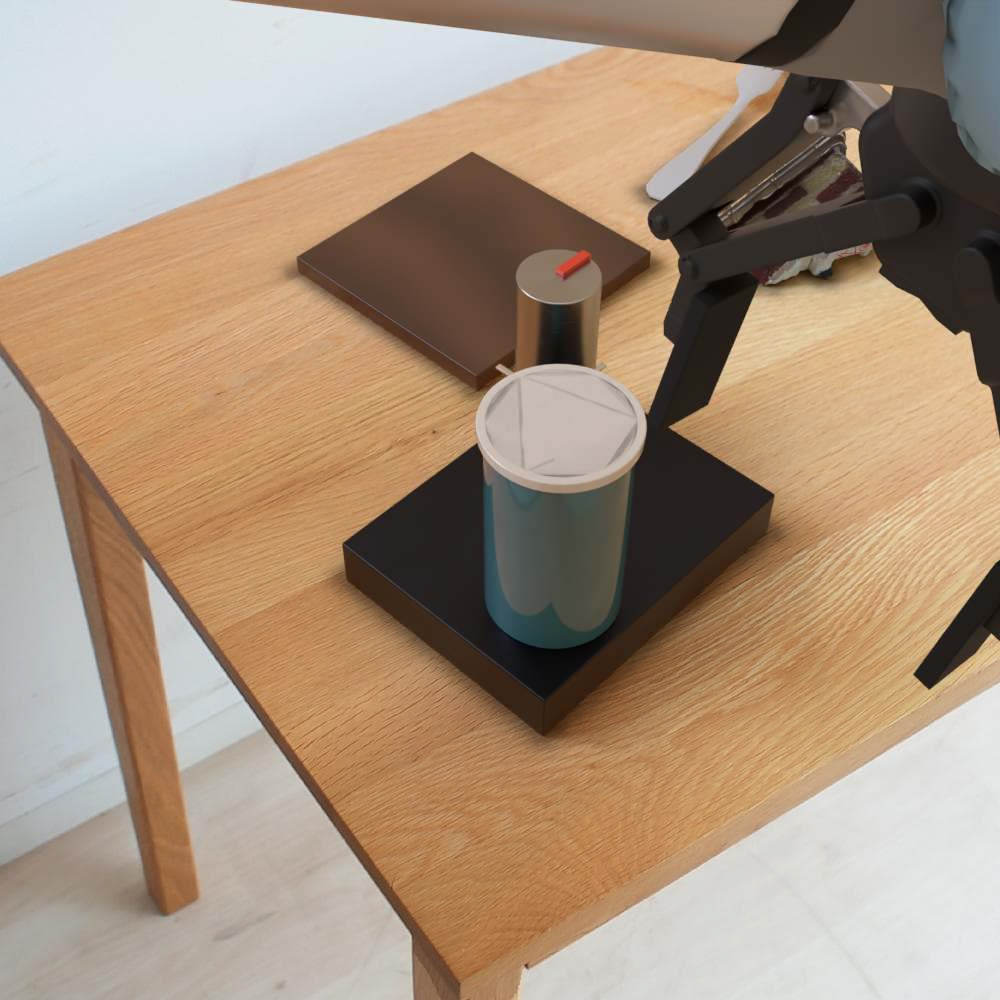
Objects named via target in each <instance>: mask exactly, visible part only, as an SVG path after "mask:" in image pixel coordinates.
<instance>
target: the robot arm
mask: <svg viewBox="0 0 1000 1000" xmlns="http://www.w3.org/2000/svg"><path fill="white" fill-rule="evenodd" d="M230 1H231V2H238V3H239V2H240V3H248V4H257V5H266V6H272V7H281V8H290V9H298V10H306V11H314V12H324V13H329V14H330V13H331V14H339V15H346V16H347V15H349V16H356V17H363V18H373V19H381V20H390V21H398V22H405V23H414V24H422V25H429V26H438V27H447V28H454V29H462V30H463V29H464V30H471V31H480V32H489V33H496V34H497V33H498V34H505V35H513V36H520V37H521V36H523V37H531V38H537V39H546V40H555V41H562V42H571V43H578V44H579V43H580V44H588V45H595V46H605V47H610V48H611V47H612V48H613V47H614V48H621V49H629V50H637V51H644V52H645V51H647V52H654V53H662V54H671V55H678V56H687V57H694V58H702V59H703V58H704V59H711V60H716V61H719V62H724V63H732V64H741V65H746V64H747V65H755V66H762V67H766V68H767V67H768V68H772V69H775V70H776V69H777V70H781V71H785V72H786V73H789V74H788V76H787V78H786V80H785V81H784V83H783V85H782V88H781V89H780V91H779V93H778V95H777V97H776V99H775V101H774V103H773V104H772V107H771V109H770V111H768V112H767V113H766V114H764V116H763V117H761V118H760V119H759V120H757V122H755V123H754V124H753V125H751V127H749V128H748V129H747V130H746V131H744V132H743V133H742V134H740V135H739V136H738V137H737V138H736V139H735V140H733V141H732V142H731V143H729V145H727V146H726V147H725V148H724V149H722V150H721V151H720V152H719V153H718V154H716V155H715V156H714V157H713V158H712V159H710V160H709V161H707V162H706V163H705V164H704V165H703V166H701V167H700V168H699V169H698V170H697V172H696V173H694V174H693V175H692V176H691V177H690V178H688V179H687V180H686V181H685V182H683V183H682V184H681V185H680V186H679V187H677V188H676V189H675V190H674V191H672V192H671V193H670V194H669V195H668V196H666V197H665V198H664V199H663V200H662V201H658V202H657V203H656V204H655V205H654V206H653V207H651V209H650V210H649V211H648V214H647V226H648V228H649V231H650V232H651V234H652V235H653V236H654V237H655V238H656V239H658V241H667V240H669V241H670V243H671V244H672V246H673V248H674V249H675V251H676V252H677V254H678V256H679V257H678V259H677V269H678V273H679V277H678V281H677V284H676V287H675V289H674V292H673V293H672V294H673V295H672V297H671V300H670V303H669V306H668V308H667V311H666V314H665V316H664V319H663V336H664V337H665V338H666V339H667V340H668V341H670V343H672V344H673V346H672V350H671V352H670V355H669V358H668V360H667V362H666V365H665V368H664V371H663V374H662V376H661V379H660V382H659V384H658V387H657V388H656V392H655V395H654V397H653V399H652V403H651V405H650V407H649V409H648V410H649V411H648V413H647V414H648V415H647V418H646V420H647V421H648V422H649V423H650V424H651V425H652V426H653V427H654V428H656V429H657V430H658V431H659V432H661V431H662V430H664V429H666V428H668V427H669V428H670V427H671V426H673V425H676V423H679V422H681V421H682V420H684V419H686V418H688V417H689V416H691V415H692V414H695V413H696V412H699V411H700V410H702V409H704V408H706V407H708V406H709V404H710V401H711V399H712V396H713V394H714V392H715V390H716V387H717V385H718V383H719V380H720V378H721V375H722V373H723V370H724V368H725V367H726V364H727V361H728V359H729V356H730V355H731V352H732V349H733V347H734V345H735V342H736V340H737V338H738V335H739V333H740V331H741V328H742V326H743V323H744V321H745V319H746V316H747V313H748V311H749V309H750V307H751V304H752V302H753V300H754V298H755V295H756V293H757V290H758V287H759V286H760V284H761V283H760V281H759V280H758V279H757V278H756V277H755V276H753V274H752V273H751V272H750V271H753V270H757V269H761V268H765V267H769V266H773V265H777V264H780V263H784V262H788V261H792V260H796V259H800V258H804V257H808V256H811V255H815V254H819V253H823V252H824V253H825V254H829V253H833V252H837V251H841V250H845V249H849V248H853V247H856V246H860V245H864V244H868V243H872V247H873V249H872V251H874V252H873V253H874V254H875V256H876V259H877V260H878V262H879V263H880V265H881V266H880V267H879V270H878V274H880V275H881V276H882V277H883V278H884V279H886V280H887V281H888V282H889V283H891V284H892V285H893V286H894V287H895V288H897V289H899V290H901V291H903V292H905V293H907V294H909V295H912V296H914V297H915V298H918V300H919V301H921V302H922V304H923V305H924V306H925V308H926V309H927V310H928V312H929V313H931V315H932V316H933V317H934V319H935V320H936V321H937V322H938V323H939V324H941V325H942V326H943V327H944V328H946V330H948V331H949V332H951V333H952V334H953V335H954V336H957V335H960V333H962V332H965V333H968V334H969V337H970V342H971V348H972V349H971V350H972V354H973V359H974V365H975V370H976V375H977V379H978V380H979V382H980V384H982V385H985V386H987V387H988V388H989V389H990V391H991V397H992V403H993V408H994V415H995V420H996V425H997V431H998V436H999V438H1000V0H230ZM883 86H891V87H892V90H891V94H890V92H888V91H887V90H886V89H885V88H884V87H883ZM852 129H855V130H857V131H858V132H859V134H858V141H857V143H858V144H857V148H858V157H859V165H860V172H861V173H862V179H863V186H864V191H861V192H858V193H855V194H851V195H848V196H845V197H841V198H838V199H835V200H831V201H828V202H825V203H821V204H818V205H815V206H811V207H808V208H804V209H801V210H798V211H794V212H791V213H788V214H784V215H781V216H778V217H774V218H771V219H768V220H764V221H761V222H758V223H754V224H751V225H748V226H746V224H744V225H742V226H739V227H737V228H735V229H733V230H731V231H728V230H727V228H726V227H725V225H724V224H723V222H722V221H721V219H720V218H719V215H720V214H721V213H722V212H723V211H725V210H726V209H727V208H728V207H730V206H731V207H732V206H733V205H735V204H736V203H737V202H739V201H740V200H741V199H742V198H744V197H745V196H746V195H747V193H748V192H750V191H751V190H753V189H754V188H755V187H756V186H757V185H759V184H761V183H762V182H764V181H765V180H767V179H768V178H769V177H770V176H772V175H773V174H774V173H775V172H776V171H778V170H779V169H780V168H782V167H783V166H784V165H786V164H787V163H788V162H789V161H791V160H792V159H793V158H794V157H796V156H797V155H798V154H800V153H801V152H802V151H804V150H805V149H806V148H808V147H809V146H811V145H812V144H813V143H814V142H816V141H817V140H818V139H820V138H821V137H823V136H824V137H833V136H836V135H838V134H840V133H843V132H845V133H846V132H847V131H849V130H852ZM990 636H993V637H994V638H995V639H996V640H997V641H999V642H1000V559H998V560H997V561H996V562H995V563H994V564H993V565H992V566H991V568H990V569H989V571H988V572H987V573H986V575H985V576H984V578H983V579H982V580H981V582H980V583H979V584H978V585H977V587H976V588H975V590H974V591H973V593H972V594H971V595H970V597H969V598H968V599H967V600H966V602H965V603H964V604H963V606H962V607H961V609H960V610H959V611H958V613H957V614H956V615H955V616H954V617H953V619H952V621H951V622H950V624H949V625H948V626H947V628H946V629H945V630H944V631H943V633H942V634H941V636H940V637H939V638H938V639H937V641H936V642H935V644H934V645H933V646H932V648H931V649H930V650H929V652H928V653H927V655H926V656H925V657H924V659H923V660H922V661H921V662H920V664H919V665H918V667H917V668H916V670H915V671H914V672H913V673H912V676H913V677H915V678H916V679H917V680H918V681H919V682H920V683H921V684H922V685H923V686H924V687H925V688H926V689H927V690H928V691H930V690H931V689H933V688H934V687H935V686H936V685H938V684H939V683H940V682H941V681H943V680H944V679H945V678H946V677H948V676H950V674H951V673H954V671H956V669H958V668H959V667H961V666H962V665H963V664H964V663H965V662H967V661H968V660H969V659H971V658H972V657H974V655H976V654H977V652H978V651H979V650H980V649H981V647H982V646H983V645H984V644H985V642H986V641H987V640H988V638H989V637H990Z"/></svg>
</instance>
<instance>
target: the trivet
mask: <svg viewBox="0 0 1000 1000" xmlns="http://www.w3.org/2000/svg"><path fill="white" fill-rule="evenodd" d="M554 249H562V250H570V251H574V252H578V253H579V252H581V251H582V250H584V251H586V252H588V253H589V254H591V260H593V261H594V262H595V263H596V264H597V266H598V267H599V269H600V271H601V274H602V288H601V302H602V301H603V300H605V299H606V298H608V297H609V296H610V295H612V294H614V293H615V292H616V291H617V290H619V289H621V288H622V287H623V286H625V284H627V283H629V282H630V281H632V280H633V279H634V278H635V277H637V276H638V275H640V274H641V273H642V272H644V271H645V270H647V269H648V268H650V266H651V256H652V252H651V250H648V249H646V248H645V247H643V246H641V245H640V244H638V243H636V242H634V241H632V240H631V239H629V238H628V237H626V236H624V235H622V234H620V233H618V232H616V231H615V230H613V229H611V228H610V227H607V226H606V225H604V224H602V223H601V222H599V221H597V220H596V219H593V218H592V217H590V216H588V215H586V214H584V213H583V212H581V211H579V210H578V209H575V208H574V207H572V206H571V205H568V204H567V203H565V202H563V201H562V200H560V199H558V198H556V197H554V196H552V195H550V194H549V193H547V192H546V191H543V190H541V189H540V188H538V187H536V186H535V185H533V184H531V183H529V182H528V181H525V179H522V178H521V177H518V176H516V175H515V174H513V173H511V172H510V171H508V170H506V169H504V168H502V167H501V166H499V165H497V164H496V163H493V162H492V161H490V160H488V159H487V158H485V157H483V156H481V155H480V154H478V153H476V152H474V151H469V152H468V153H467V154H465V155H463V156H461V157H460V158H458V159H456V160H455V161H453V162H452V163H450V164H449V165H446V166H445V167H443V168H442V169H440V170H438V171H436V172H435V173H434V174H432V175H430V176H428V177H427V178H425V179H423V180H422V181H420V182H418V183H417V184H415V185H413V186H412V187H410V188H408V189H407V190H405V191H404V192H402V193H400V194H399V195H397V196H396V197H393V198H392V199H390V200H388V201H387V202H385V203H383V204H382V205H380V206H378V207H377V208H375V209H374V210H372V211H370V212H368V213H366V214H365V215H364V216H362V217H360V218H359V219H357V220H355V221H353V222H352V223H350V224H349V225H347V226H346V227H344V228H342V229H340V230H339V231H337V232H336V233H333V234H332V235H330V236H328V237H327V238H326V239H324V240H322V241H321V242H319V243H317V244H316V245H313V246H312V247H310V248H309V249H307V250H306V251H304V252H301V254H298V255H297V256H296V262H297V263H296V265H297V271H298V273H300V274H301V275H303V276H304V277H306V278H307V279H309V280H310V281H311V282H313V283H315V284H316V285H318V286H319V287H321V288H322V289H324V290H325V291H326V292H328V293H330V294H331V295H333V296H335V297H336V298H337V299H339V300H340V301H342V302H343V303H345V304H346V305H348V306H349V307H351V308H352V309H354V310H355V311H357V312H359V314H361V315H363V316H364V317H366V318H368V319H369V320H370V321H372V322H374V323H375V324H376V325H378V326H379V327H381V328H383V329H384V330H386V331H387V332H388V333H390V334H391V335H393V336H394V337H396V338H398V339H399V340H400V341H402V342H403V343H405V344H406V345H408V346H409V347H411V348H412V349H414V350H415V351H417V352H419V354H421V355H423V356H424V357H425V358H427V359H429V360H430V361H432V362H433V363H435V364H436V365H437V366H439V367H441V368H443V369H444V370H445V371H447V372H448V373H450V374H451V375H453V376H454V377H455V378H458V379H459V380H461V381H462V382H463V383H465V384H466V385H468V386H469V387H471V388H472V389H474V390H475V391H479V390H480V389H481V388H483V387H484V386H485V385H486V384H488V383H489V382H491V381H492V380H494V379H495V378H497V377H498V376H499V375H500V374H503V373H502V372H500V371H499V370H497V369H496V366H497V365H499V364H501V365H503V366H504V367H506V368H507V369H509V368H510V367H511V366H513V365H515V300H516V272H517V269H518V267H519V266H520V264H521V263H522V262H523V261H524V260H525V259H526V258H528V257H529V256H531V255H533V254H535V253H538V252H541V251H546V250H554Z"/></svg>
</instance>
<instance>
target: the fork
mask: <svg viewBox="0 0 1000 1000" xmlns="http://www.w3.org/2000/svg"><path fill="white" fill-rule="evenodd" d="M785 72H786V71H781V70H777V69H772V68H768V67H762V66H755V65H747V64H744V66H743V67H742V68H741V70H740V71H739V72H738V74H737V76H736V79H735V84H736V87H737V88H738V89H737V90H738V97H737V99H736V100H735V102H734V104H733V105H732V107H730V109H729V110H728V111H727V112H726V113H725V114H724V115H723V116H722V117H721V118H720V119H719V121H718V122H716V123H715V124H714V125H713V126H712V127H710V129H708V130H707V132H706V133H704V134H703V135H701V136H700V137H699V138H698V139H697V140H695V141H694V142H693V143H692V144H691V145H689V146H688V147H686V148H685V149H684V150H683V151H681V152H680V153H679V154H677V155H676V156H675V157H673V158H672V159H671V160H669V161H668V162H667V163H666V164H665V165H664V166H663V167H661V168H660V169H659V170H657V171H656V172H655V174H654V175H653V176H652V177H651V178H650V180H649V181H648V183H647V184H646V185H645V192H646V193H647V195H648V196H649V198H651V199H654V200H656V201H658V202H660V201H662V200H663V199H664V198H665V197H666V196H668V195H669V194H670V193H671V192H672V191H674V190H675V189H676V188H677V187H679V186H680V185H681V184H682V183H683V182H685V181H686V180H687V179H688V178H690V177H691V176H692V175H693V174H694V173H696V172H697V171H698V170H699V169H700V168H701V167H702V165H703V163H704V161H705V160H706V158H707V157H708V155H709V154H710V152H711V151H712V149H713V148H714V147H715V145H716V144H717V143H718V142H719V140H720V139H721V138H722V137H723V136H724V134H725V133H726V132H727V131H728V130H729V129H730V128H731V126H732V125H733V123H735V121H736V120H737V119H738V118H739V117H740V116H741V114H743V112H744V111H745V110H746V108H747V107H748V105H749V104H750V102H751V101H752V100H754V99H755V98H757V97H758V96H761V95H765V94H766V93H768V92H769V91H771V89H772V88H773V87H774V86H775V84H776V83H777V81H778V80H779V79H780V78H781V76H782V74H784V73H785Z"/></svg>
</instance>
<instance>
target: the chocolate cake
mask: <svg viewBox="0 0 1000 1000" xmlns="http://www.w3.org/2000/svg"><path fill="white" fill-rule="evenodd" d="M846 140H847V134H846V131H845V132H843V133H840V134H838V135H836V136H833V137H824V136H822V137H821V138H820V139H818V140H817V141H816V142H814V143H813V144H812V145H810V146H809V147H808V148H806V149H805V150H804V151H802V152H801V153H800V154H798V155H797V156H796V157H794V158H793V159H792V160H791V161H789V162H788V163H787V164H785V165H784V166H783V167H781V168H780V169H779V170H777V171H776V172H775V173H773V174H772V175H771V176H769V177H768V178H767V179H765V180H764V181H763V182H761V183H760V184H759V185H757V186H756V187H755V188H754V189H752V190H751V191H750V192H748V193H747V194H746V195H744V196H743V197H742V198H740V199H739V200H738V201H737V202H735V203H734V204H733V205H731V206H730V207H728V208H727V209H726V210H724V211H723V212H722V213H720V214H719V215H718V216H719V218H720V219H721V221H722V222H723V224H724V225H725V227H726V228H727V230H728V231H731V230H733V229H735V228H737V227H739V226H742V225H744V224H746V226H748V225H751V224H754V223H758V222H761V221H764V220H768V219H771V218H774V217H778V216H781V215H784V214H788V213H791V212H794V211H798V210H801V209H804V208H808V207H811V206H815V205H818V204H821V203H825V202H828V201H831V200H835V199H838V198H841V197H845V196H848V195H851V194H855V193H858V192H861V191H864V186H863V179H862V172H861V170H860V169H858V168H857V166H855V164H854V163H853V162H852V161H851V160H850V159H848V158H847V149H848V146H847V143H846ZM871 251H873V247H872V243H868V244H864V245H860V246H856V247H853V248H849V249H845V250H841V251H837V252H833V253H829V254H825V253H824V252H823V253H819V254H815V255H811V256H808V257H804V258H800V259H796V260H792V261H788V262H784V263H780V264H777V265H773V266H769V267H765V268H761V269H757V270H753V271H750V273H751V274H752V275H753V276H755V277H756V278H757V279H758V280H759V281H760V283H759V284H762V285H763V286H767V285H775V284H777V283H780V282H781V281H784V280H788V279H790V278H791V277H796V276H797V275H799V273H800V272H801V271H806V270H808V271H809V272H810V273H811V274H812V275H813V276H818V277H819V278H821V279H823V280H827V279H830V278H831V277H832V276H833V275H834V271H833V269H832V264H833V262H834V261H835V260H840V259H841V258H845V257H850V256H853V255H854V256H855V255H859V256H860V257H867V256H868V255H869V254H870V252H871Z"/></svg>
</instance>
